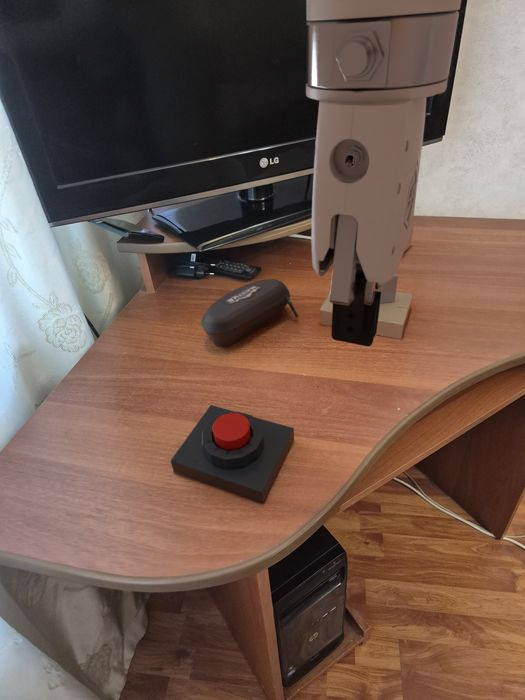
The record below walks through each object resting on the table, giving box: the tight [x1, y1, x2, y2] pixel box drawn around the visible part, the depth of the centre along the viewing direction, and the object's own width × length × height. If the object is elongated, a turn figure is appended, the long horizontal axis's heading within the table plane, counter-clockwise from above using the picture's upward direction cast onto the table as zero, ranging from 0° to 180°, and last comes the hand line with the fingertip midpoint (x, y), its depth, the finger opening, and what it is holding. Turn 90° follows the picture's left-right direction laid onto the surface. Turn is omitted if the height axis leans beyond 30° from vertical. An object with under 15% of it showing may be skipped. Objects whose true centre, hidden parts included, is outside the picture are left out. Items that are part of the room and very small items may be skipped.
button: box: [213, 413, 251, 450], centre depth 52 cm, size 4×4×2 cm
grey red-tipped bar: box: [375, 272, 399, 303], centre depth 74 cm, size 9×2×5 cm, turn 96°
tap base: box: [318, 291, 414, 340], centre depth 77 cm, size 14×13×3 cm
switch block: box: [170, 404, 295, 504], centre depth 54 cm, size 12×10×4 cm
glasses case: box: [200, 278, 299, 348], centre depth 75 cm, size 18×10×8 cm, turn 135°
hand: (353, 337), depth 35 cm, fingers closed
